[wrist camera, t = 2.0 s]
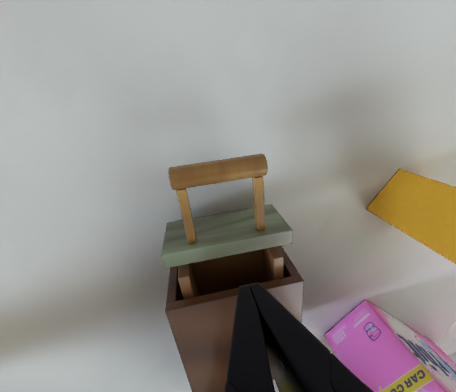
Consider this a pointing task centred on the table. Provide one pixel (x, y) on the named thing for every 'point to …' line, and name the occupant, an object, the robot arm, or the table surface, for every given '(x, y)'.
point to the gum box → (390, 353)
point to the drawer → (224, 232)
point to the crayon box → (420, 210)
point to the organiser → (219, 324)
